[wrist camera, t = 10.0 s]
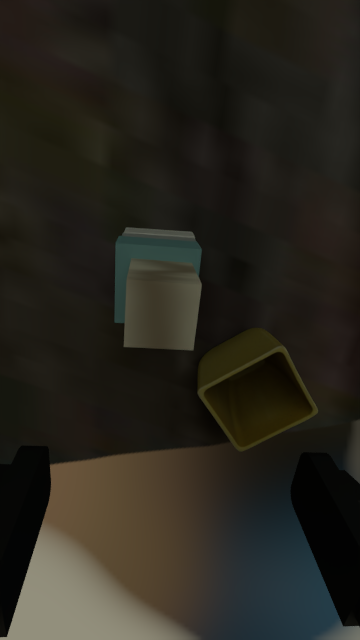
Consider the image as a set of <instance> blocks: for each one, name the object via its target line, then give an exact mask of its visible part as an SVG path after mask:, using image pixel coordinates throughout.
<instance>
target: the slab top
mask: <svg viewBox="0 0 360 640" xmlns="http://www.w3.org/2000/svg"><path fill="white" fill-rule="evenodd" d="M201 252H202V249H201V247H200V246H199V244H198V243H197V242H196V241H182V240H169V239H156V238H143V237H129V236H119V237H118V239H117V241H116V258H115V323H125V306H126V281H127V275H128V271H129V266H130V262H131V258H135V259H148V260H160V261H173V262H186V263H192V264H193V266H194V269H195V271H196V273H197V275H198V278H199V269H200V260H201Z"/></svg>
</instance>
